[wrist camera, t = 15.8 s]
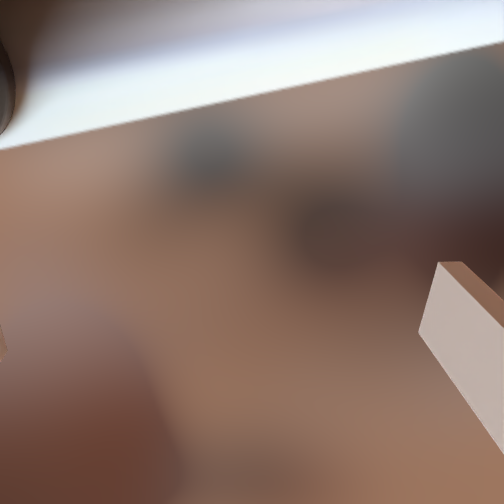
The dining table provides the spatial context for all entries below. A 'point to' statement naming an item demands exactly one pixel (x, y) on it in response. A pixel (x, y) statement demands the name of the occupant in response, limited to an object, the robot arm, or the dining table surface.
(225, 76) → the dining table surface
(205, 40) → the dining table surface
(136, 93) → the dining table surface
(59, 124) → the dining table surface
